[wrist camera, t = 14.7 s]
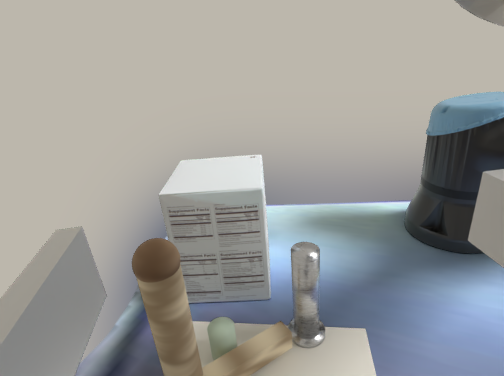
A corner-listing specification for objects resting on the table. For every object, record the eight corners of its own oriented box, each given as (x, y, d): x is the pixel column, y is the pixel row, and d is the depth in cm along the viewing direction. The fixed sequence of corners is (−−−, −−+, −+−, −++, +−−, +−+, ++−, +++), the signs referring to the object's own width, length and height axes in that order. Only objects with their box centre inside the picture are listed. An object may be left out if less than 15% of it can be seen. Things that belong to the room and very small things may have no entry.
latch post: (215, 341, 39) (211, 316, 38) (239, 342, 39) (236, 317, 37) (209, 363, 37) (204, 337, 35) (235, 365, 36) (231, 339, 34)
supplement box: (196, 251, 59) (179, 159, 51) (269, 246, 58) (262, 153, 51) (180, 305, 46) (155, 194, 39) (272, 300, 46) (264, 187, 39)
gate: (277, 335, 39) (268, 189, 31) (297, 356, 36) (291, 201, 29) (168, 402, 33) (121, 240, 25) (181, 434, 30) (134, 262, 22)
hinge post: (288, 317, 42) (285, 238, 37) (323, 319, 41) (324, 238, 36) (287, 347, 38) (283, 262, 33) (326, 349, 37) (328, 263, 32)
